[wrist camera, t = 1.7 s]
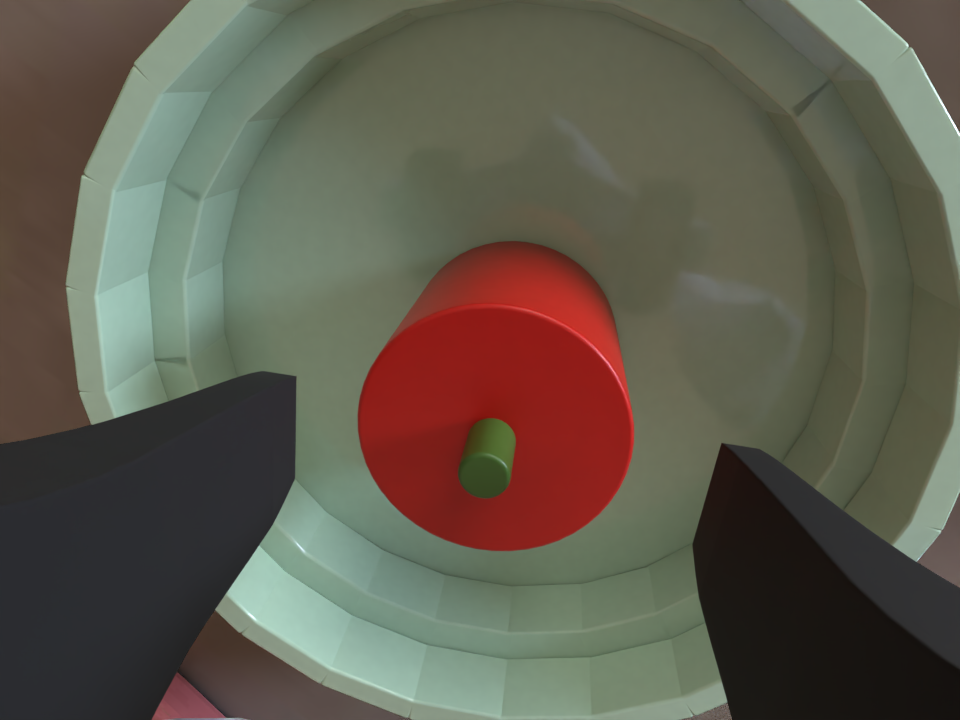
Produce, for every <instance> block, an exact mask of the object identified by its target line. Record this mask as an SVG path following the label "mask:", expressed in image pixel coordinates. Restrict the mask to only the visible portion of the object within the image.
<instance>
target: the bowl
mask: <svg viewBox="0 0 960 720" xmlns="http://www.w3.org/2000/svg"><path fill="white" fill-rule="evenodd" d="M504 241H519V242H529V243H534V244H539V245H543V246H545V247H548V248H551V249H554V250H556V251H558V252H560V253H562V254H564V255H566V256H568V257H569V258H571V259H572V260H574V261H575V262H577V263H578V264H579V265H581V266H582V267H583V268H584V269H585V270H586V271H587V272H588V273H589V274H590V275H591V276H592V277H593V278H594V279H595V281H596V282H597V283H598V284H599V286H600V287H601V289H602V291H603V292H604V294H605V295H606V297H607V300H608V302H609V304H610V306H611V309H612V312H613V316H614V319H615V324H616V329H617V334H618V339H619V345H620V350H621V355H622V360H623V366H624V371H625V376H626V381H627V387H628V392H629V397H630V402H631V408H632V414H633V421H634V446H633V452H632V458H631V462H630V465H629V468H628V471H627V474H626V476H625V478H624V480H623V482H622V484H621V487H620V488H619V490H618V491H617V493H616V494H615V496H614V497H613V499H612V500H611V502H610V503H609V504H608V505H607V506H606V507H605V508H604V509H603V511H602V512H601V513H600V514H599V515H598V516H597V517H595V518H594V519H593V520H592V521H591V522H590V523H588V524H587V525H586V526H584V527H583V528H581V529H580V530H578V531H577V532H575V533H573V534H571V535H569V536H567V537H565V538H563V539H561V540H559V541H556V542H553V543H550V544H548V545H545V546H541V547H536V548H532V549H527V550H518V551H488V550H479V549H474V548H469V547H465V546H461V545H458V544H455V543H452V542H449V541H446V540H443V539H441V538H439V537H437V536H435V535H433V534H431V533H429V532H427V531H425V530H424V529H422V528H421V527H419V526H417V525H416V524H414V523H413V522H412V521H410V520H409V519H408V518H406V517H405V516H404V515H403V514H402V513H401V512H399V511H398V510H397V509H396V508H395V507H394V506H393V505H392V504H391V503H390V501H389V500H388V499H387V498H386V497H385V495H384V494H383V493H382V492H381V490H380V489H379V487H378V486H377V484H376V482H375V481H374V479H373V478H372V476H371V473H370V471H369V469H368V467H367V465H366V463H365V459H364V456H363V453H362V450H361V446H360V441H359V435H358V419H357V413H358V405H359V398H360V394H361V390H362V387H363V383H364V381H365V379H366V376H367V374H368V372H369V370H370V367H371V366H372V364H373V363H374V361H375V360H376V358H377V356H378V355H379V353H380V352H381V350H382V349H383V348H384V346H385V345H386V343H387V342H388V340H389V339H390V338H391V336H392V335H393V333H394V332H395V330H396V329H397V328H398V326H399V325H400V323H401V322H402V320H403V319H404V318H405V316H406V315H407V313H408V312H409V310H410V309H411V308H412V306H413V305H414V303H415V302H416V300H417V299H418V298H419V296H420V295H421V293H422V292H423V290H424V289H425V288H426V286H427V285H428V283H429V282H430V280H431V279H432V278H433V277H434V276H435V275H436V273H437V272H438V271H439V270H440V269H441V268H443V267H444V266H445V265H446V264H447V263H448V262H450V261H451V260H453V259H454V258H456V257H457V256H459V255H460V254H462V253H464V252H466V251H468V250H470V249H473V248H476V247H479V246H482V245H485V244H490V243H495V242H504ZM65 284H66V286H67V287H66V296H67V304H68V312H69V321H70V329H71V337H72V345H73V353H74V361H75V369H76V377H77V386H78V390H79V391H80V392H79V395H80V398H81V401H82V403H83V406H84V408H85V411H86V413H87V416H88V419H89V421H90V424H91V425H93V424H97V423H100V422H104V421H107V420H111V419H114V418H117V417H120V416H123V415H127V414H130V413H133V412H136V411H139V410H142V409H146V408H149V407H152V406H155V405H158V404H162V403H165V402H168V401H170V400H173V399H176V398H179V397H182V396H185V395H187V394H190V393H193V392H196V391H199V390H202V389H204V388H207V387H210V386H213V385H216V384H219V383H221V382H224V381H227V380H230V379H233V378H236V377H239V376H243V375H246V374H250V373H254V372H259V371H267V372H273V373H279V374H286V375H292V376H297V381H296V456H295V480H294V482H293V484H292V486H291V489H290V491H289V493H288V495H287V497H286V499H285V501H284V504H283V506H282V508H281V510H280V512H279V514H278V516H277V518H276V519H275V521H274V523H273V525H272V527H271V528H270V530H269V531H268V533H267V534H266V536H265V537H264V539H263V540H262V542H261V543H260V545H259V546H258V548H257V549H256V551H255V552H254V554H253V555H252V557H251V558H250V560H249V561H248V563H247V564H246V565H245V567H244V568H243V570H242V571H241V573H240V574H239V576H238V577H237V579H236V580H235V581H234V583H233V584H232V586H231V587H230V589H229V590H228V592H227V593H226V595H225V596H224V597H223V599H222V600H221V602H220V603H219V605H218V606H217V608H216V609H215V611H216V612H217V613H218V614H219V615H220V616H221V617H222V618H224V619H225V620H226V621H227V622H228V623H229V624H230V625H231V626H232V627H233V628H234V629H235V630H236V631H237V632H239V633H241V632H242V635H243V636H244V637H246V638H247V639H249V640H250V641H252V642H254V643H255V644H257V645H258V646H260V647H261V648H263V649H265V650H266V651H268V652H269V653H271V654H273V655H274V656H276V657H277V658H279V659H280V660H282V661H284V662H285V663H287V664H288V665H290V666H291V667H293V668H295V669H296V670H298V671H299V672H301V673H303V674H304V675H306V676H307V677H309V678H310V679H312V680H314V681H315V682H317V683H322V685H323V686H325V687H327V688H330V689H333V690H335V691H338V692H340V693H343V694H345V695H348V696H350V697H353V698H356V699H358V700H361V701H363V702H366V703H368V704H371V705H373V706H376V707H378V708H381V709H384V710H386V711H389V712H391V713H394V714H396V715H399V716H401V717H404V718H408V717H409V719H411V720H682V719H687V718H691V717H693V715H695V716H697V715H700V714H702V713H704V712H707V711H709V710H711V709H714V708H716V707H718V706H721V705H723V704H725V703H728V702H727V699H726V695H725V692H724V688H723V684H722V681H721V677H720V674H719V670H718V667H717V663H716V659H715V656H714V652H713V649H712V645H711V642H710V638H709V634H708V631H707V627H706V623H705V620H704V616H703V612H702V608H701V604H700V601H699V596H698V589H697V582H696V574H695V565H694V556H693V547H692V544H693V540H694V537H695V533H696V530H697V526H698V523H699V519H700V516H701V512H702V509H703V505H704V502H705V498H706V495H707V491H708V488H709V484H710V481H711V477H712V474H713V470H714V467H715V464H716V460H717V457H718V453H719V450H720V446H721V443H725V444H732V445H738V446H745V447H751V448H757V449H760V450H762V451H764V452H766V453H767V454H769V455H770V456H772V457H773V458H775V459H776V460H778V461H779V462H780V463H782V464H783V465H785V466H786V467H787V468H789V469H790V470H791V471H793V472H794V473H795V474H796V475H798V476H799V477H800V478H802V479H803V480H804V481H806V482H807V483H808V484H809V485H811V486H812V487H813V488H815V489H816V490H817V491H818V492H820V493H821V494H822V495H824V496H825V497H826V498H827V499H829V500H830V501H831V502H833V503H834V504H835V505H837V506H838V507H839V508H841V509H842V510H843V511H845V512H846V513H847V514H849V515H850V516H851V517H853V518H854V519H855V520H857V521H858V522H859V523H861V524H862V525H864V526H865V527H866V528H868V529H869V530H870V531H872V532H873V533H875V534H876V535H878V536H879V537H881V538H882V539H883V540H885V541H886V542H888V543H889V544H891V545H892V546H894V547H895V548H897V549H898V550H899V551H901V552H902V553H904V554H905V555H907V556H908V557H910V558H911V559H913V560H914V561H916V562H917V561H918V560H919V558H920V557H921V556H922V555H923V554H924V552H925V551H926V550H927V549H928V548H929V546H930V545H931V544H932V543H933V541H934V540H935V539H936V538H937V537H938V535H939V534H940V533H941V530H942V529H943V528H944V526H945V524H946V522H947V519H948V517H949V515H950V513H951V510H952V508H953V506H954V504H955V502H956V499H957V497H958V495H959V493H960V133H959V131H958V129H957V127H956V126H955V124H954V122H953V120H952V118H951V117H950V115H949V113H948V111H947V110H946V108H945V106H944V104H943V102H942V101H941V99H940V97H939V95H938V93H937V92H936V90H935V88H934V86H933V84H932V83H931V81H930V79H929V77H928V76H927V74H926V72H925V70H924V68H923V67H922V65H921V63H920V61H919V59H918V58H917V56H916V54H915V52H914V51H913V49H912V48H911V47H909V45H908V43H907V42H906V41H905V40H904V39H903V38H901V37H900V36H899V35H898V34H897V33H896V32H895V31H894V30H893V29H892V28H890V27H889V26H888V25H887V24H886V23H885V22H884V21H883V20H882V19H881V18H879V17H878V16H877V15H876V14H875V13H874V12H873V11H872V10H871V9H870V8H868V7H867V6H866V5H865V4H864V3H863V2H862V1H861V0H190V1H189V2H188V4H187V5H186V6H185V7H184V8H183V9H182V10H181V11H180V12H179V13H178V15H177V16H176V17H175V18H174V19H173V20H172V21H171V22H170V23H169V24H168V26H167V27H166V28H165V29H164V30H163V31H162V32H161V33H160V34H159V35H158V37H157V38H156V39H155V40H154V41H153V42H152V43H151V44H150V45H149V47H148V48H147V49H146V50H145V51H144V52H143V53H142V54H141V55H140V56H139V58H138V59H137V60H136V61H135V62H134V67H132V68H131V71H130V73H129V75H128V77H127V79H126V81H125V83H124V86H123V88H122V90H121V92H120V94H119V96H118V98H117V101H116V103H115V105H114V107H113V109H112V111H111V114H110V116H109V118H108V120H107V122H106V124H105V126H104V129H103V131H102V133H101V135H100V137H99V139H98V142H97V144H96V146H95V148H94V150H93V152H92V154H91V157H90V159H89V161H88V163H87V165H86V167H85V170H84V175H82V176H81V181H80V188H79V194H78V201H77V208H76V215H75V222H74V228H73V235H72V242H71V249H70V256H69V262H68V269H67V276H66V283H65Z"/></svg>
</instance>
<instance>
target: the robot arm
mask: <svg viewBox="0 0 960 720" xmlns="http://www.w3.org/2000/svg"><path fill="white" fill-rule="evenodd" d="M296 381H297V376H292V375H286V374H279V373H273V372H267V371H259V372H254V373H250V374H246V375H243V376H239V377H236V378H233V379H230V380H227V381H224V382H221V383H219V384H216V385H213V386H210V387H207V388H204V389H202V390H199V391H196V392H193V393H190V394H187V395H185V396H182V397H179V398H176V399H173V400H170V401H168V402H165V403H162V404H158V405H155V406H152V407H149V408H146V409H142V410H139V411H136V412H133V413H130V414H127V415H123V416H120V417H117V418H114V419H111V420H107V421H104V422H100V423H97V424H93V425H89V426H85V427H81V428H77V429H73V430H69V431H65V432H60V433H56V434H51V435H47V436H42V437H38V438H33V439H28V440H23V441H17V442H11V443H4V444H0V720H152V718H153V716H154V714H155V712H156V710H157V708H158V706H159V704H160V702H161V701H162V699H163V697H164V695H165V693H166V691H167V689H168V688H169V686H170V684H171V682H172V680H173V678H174V676H175V675H176V673H177V671H178V669H179V667H180V665H181V664H182V662H183V660H184V658H185V656H186V654H187V652H188V651H189V649H190V647H191V646H192V644H193V643H194V641H195V639H196V638H197V636H198V635H199V633H200V631H201V630H202V628H203V627H204V625H205V624H206V622H207V621H208V619H209V618H210V616H211V615H212V613H213V612H214V611H215V609H216V608H217V606H218V605H219V603H220V602H221V600H222V599H223V597H224V596H225V595H226V593H227V592H228V590H229V589H230V587H231V586H232V584H233V583H234V581H235V580H236V579H237V577H238V576H239V574H240V573H241V571H242V570H243V568H244V567H245V565H246V564H247V563H248V561H249V560H250V558H251V557H252V555H253V554H254V552H255V551H256V549H257V548H258V546H259V545H260V543H261V542H262V540H263V539H264V537H265V536H266V534H267V533H268V531H269V530H270V528H271V527H272V525H273V523H274V521H275V519H276V518H277V516H278V514H279V512H280V510H281V508H282V506H283V504H284V501H285V499H286V497H287V495H288V493H289V491H290V489H291V486H292V484H293V482H294V480H295V456H296ZM692 547H693V556H694V565H695V574H696V582H697V589H698V596H699V601H700V604H701V608H702V612H703V616H704V620H705V623H706V627H707V631H708V634H709V638H710V642H711V645H712V649H713V652H714V656H715V659H716V663H717V667H718V670H719V674H720V677H721V681H722V684H723V688H724V692H725V695H726V699H727V702H728V706H729V709H730V713H731V716H732V720H960V588H959V587H957V586H955V585H954V584H952V583H950V582H949V581H947V580H945V579H944V578H942V577H940V576H938V575H937V574H935V573H933V572H932V571H930V570H928V569H927V568H925V567H924V566H922V565H921V564H919V563H918V562H916V561H914V560H913V559H911V558H910V557H908V556H907V555H905V554H904V553H902V552H901V551H899V550H898V549H897V548H895V547H894V546H892V545H891V544H889V543H888V542H886V541H885V540H883V539H882V538H881V537H879V536H878V535H876V534H875V533H873V532H872V531H870V530H869V529H868V528H866V527H865V526H864V525H862V524H861V523H859V522H858V521H857V520H855V519H854V518H853V517H851V516H850V515H849V514H847V513H846V512H845V511H843V510H842V509H841V508H839V507H838V506H837V505H835V504H834V503H833V502H831V501H830V500H829V499H827V498H826V497H825V496H824V495H822V494H821V493H820V492H818V491H817V490H816V489H815V488H813V487H812V486H811V485H809V484H808V483H807V482H806V481H804V480H803V479H802V478H800V477H799V476H798V475H796V474H795V473H794V472H793V471H791V470H790V469H789V468H787V467H786V466H785V465H783V464H782V463H780V462H779V461H778V460H776V459H775V458H773V457H772V456H770V455H769V454H767V453H766V452H764V451H762V450H760V449H757V448H751V447H745V446H738V445H732V444H725V443H721V446H720V450H719V453H718V457H717V460H716V464H715V467H714V470H713V474H712V477H711V481H710V484H709V488H708V491H707V495H706V498H705V502H704V505H703V509H702V512H701V516H700V519H699V523H698V526H697V530H696V533H695V537H694V540H693V544H692ZM168 720H249V719H244V718H176V719H168Z"/></svg>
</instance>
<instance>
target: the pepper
mask: <svg viewBox="0 0 960 720" xmlns="http://www.w3.org/2000/svg"><path fill="white" fill-rule="evenodd" d="M357 419H358V435H359V441H360V446H361V450H362V453H363V456H364V459H365V463H366V465H367V467H368V469H369V471H370V473H371V476H372V478H373V479H374V481H375V482H376V484H377V486H378V487H379V489H380V490H381V492H382V493H383V494H384V495H385V497H386V498H387V499H388V500H389V501H390V503H391V504H392V505H393V506H394V507H395V508H396V509H397V510H398V511H399V512H401V513H402V514H403V515H404V516H405V517H406V518H408V519H409V520H410V521H412V522H413V523H414V524H416V525H417V526H419V527H421V528H422V529H424V530H425V531H427V532H429V533H431V534H433V535H435V536H437V537H439V538H441V539H443V540H446V541H449V542H452V543H455V544H458V545H461V546H465V547H469V548H474V549H479V550H488V551H518V550H527V549H532V548H536V547H541V546H545V545H548V544H550V543H553V542H556V541H559V540H561V539H563V538H565V537H567V536H569V535H571V534H573V533H575V532H577V531H578V530H580V529H581V528H583V527H584V526H586V525H587V524H588V523H590V522H591V521H592V520H593V519H594V518H595V517H597V516H598V515H599V514H600V513H601V512H602V511H603V509H604V508H605V507H606V506H607V505H608V504H609V503H610V502H611V500H612V499H613V497H614V496H615V494H616V493H617V491H618V490H619V488H620V487H621V484H622V482H623V480H624V478H625V476H626V474H627V471H628V468H629V465H630V462H631V458H632V452H633V446H634V421H633V414H632V408H631V402H630V397H629V392H628V387H627V381H626V376H625V371H624V366H623V360H622V355H621V350H620V345H619V339H618V334H617V329H616V324H615V319H614V316H613V312H612V309H611V306H610V304H609V302H608V300H607V297H606V295H605V294H604V292H603V291H602V289H601V287H600V286H599V284H598V283H597V282H596V281H595V279H594V278H593V277H592V276H591V275H590V274H589V273H588V272H587V271H586V270H585V269H584V268H583V267H582V266H581V265H579V264H578V263H577V262H575V261H574V260H572V259H571V258H569V257H568V256H566V255H564V254H562V253H560V252H558V251H556V250H554V249H551V248H548V247H545V246H543V245H539V244H534V243H529V242H519V241H504V242H495V243H490V244H485V245H482V246H479V247H476V248H473V249H470V250H468V251H466V252H464V253H462V254H460V255H459V256H457V257H456V258H454V259H453V260H451V261H450V262H448V263H447V264H446V265H445V266H444V267H443V268H441V269H440V270H439V271H438V272H437V273H436V275H435V276H434V277H433V278H432V279H431V280H430V282H429V283H428V285H427V286H426V288H425V289H424V290H423V292H422V293H421V295H420V296H419V298H418V299H417V300H416V302H415V303H414V305H413V306H412V308H411V309H410V310H409V312H408V313H407V315H406V316H405V318H404V319H403V320H402V322H401V323H400V325H399V326H398V328H397V329H396V330H395V332H394V333H393V335H392V336H391V338H390V339H389V340H388V342H387V343H386V345H385V346H384V348H383V349H382V350H381V352H380V353H379V355H378V356H377V358H376V360H375V361H374V363H373V364H372V366H371V367H370V370H369V372H368V374H367V376H366V379H365V381H364V383H363V387H362V390H361V394H360V398H359V405H358V413H357Z"/></svg>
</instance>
